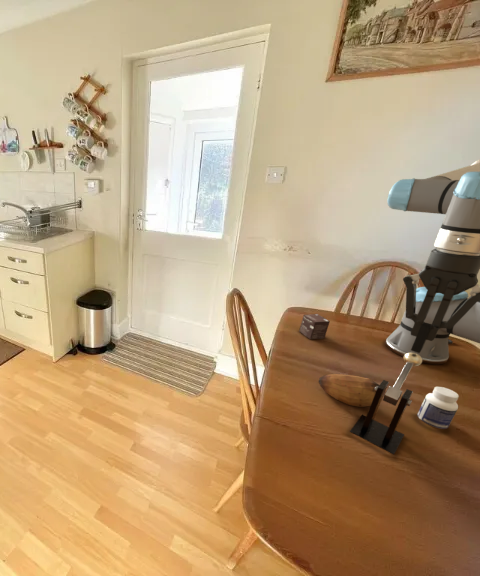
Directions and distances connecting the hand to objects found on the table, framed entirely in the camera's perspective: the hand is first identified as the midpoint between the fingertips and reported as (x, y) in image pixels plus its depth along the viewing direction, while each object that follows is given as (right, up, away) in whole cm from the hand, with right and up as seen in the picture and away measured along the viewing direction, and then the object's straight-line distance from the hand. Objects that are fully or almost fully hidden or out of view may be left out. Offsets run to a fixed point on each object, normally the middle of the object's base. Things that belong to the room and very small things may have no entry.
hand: (416, 349), depth 73 cm
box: (+7, -4, +46) cm, 46 cm away
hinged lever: (-4, -7, 0) cm, 8 cm away
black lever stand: (-9, -21, +1) cm, 23 cm away
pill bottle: (+8, -19, +5) cm, 22 cm away
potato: (-7, -17, +12) cm, 22 cm away
